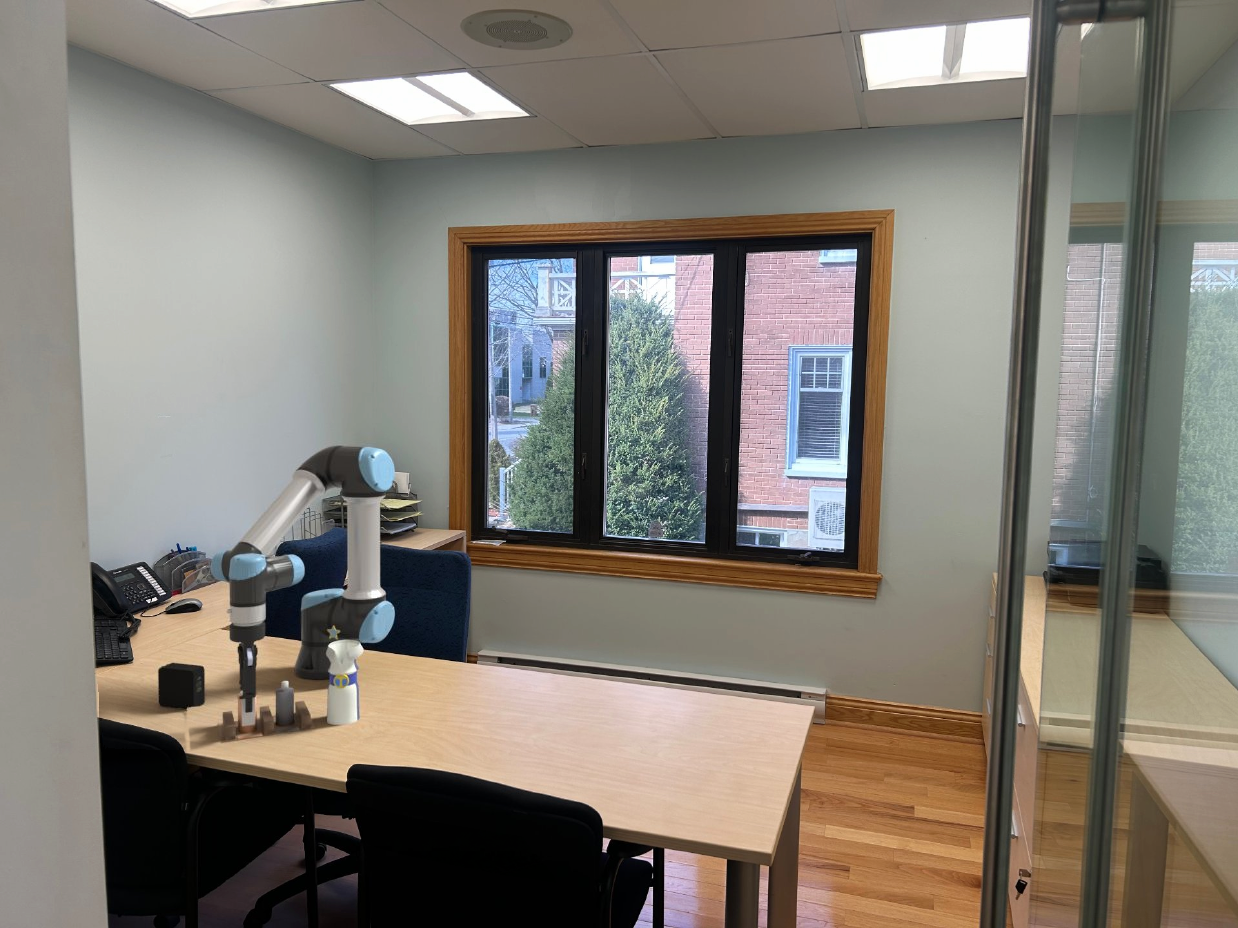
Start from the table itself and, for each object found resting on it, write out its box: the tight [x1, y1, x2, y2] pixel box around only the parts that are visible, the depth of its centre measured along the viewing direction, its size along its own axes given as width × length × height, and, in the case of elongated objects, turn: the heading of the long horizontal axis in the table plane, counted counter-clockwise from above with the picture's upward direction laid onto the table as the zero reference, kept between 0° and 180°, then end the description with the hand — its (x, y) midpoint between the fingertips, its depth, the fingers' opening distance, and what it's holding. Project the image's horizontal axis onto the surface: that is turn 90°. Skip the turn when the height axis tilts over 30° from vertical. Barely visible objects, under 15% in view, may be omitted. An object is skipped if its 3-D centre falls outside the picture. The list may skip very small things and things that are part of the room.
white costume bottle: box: [326, 626, 364, 726], centre depth 199 cm, size 8×9×25 cm
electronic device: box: [157, 662, 206, 710], centre depth 208 cm, size 4×10×10 cm, turn 79°
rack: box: [217, 700, 316, 744], centre depth 195 cm, size 20×12×4 cm, turn 119°
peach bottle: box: [237, 693, 258, 733], centre depth 192 cm, size 4×4×10 cm
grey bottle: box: [275, 680, 295, 727], centre depth 196 cm, size 4×4×10 cm
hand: (247, 721), depth 192 cm, fingers closed on peach bottle, 4 cm apart
